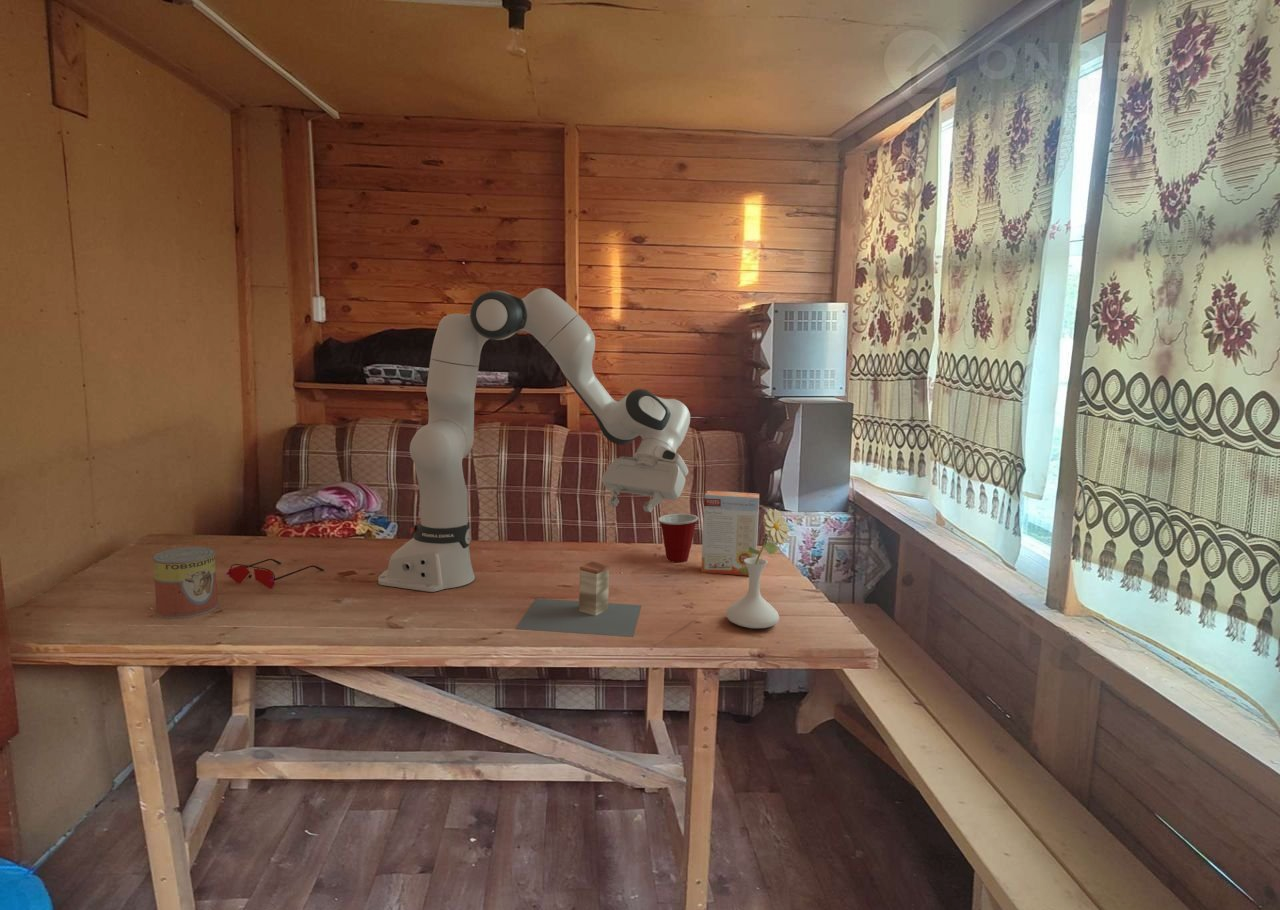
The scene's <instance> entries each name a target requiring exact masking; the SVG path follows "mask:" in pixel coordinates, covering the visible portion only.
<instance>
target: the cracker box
mask: <svg viewBox="0 0 1280 910" xmlns="http://www.w3.org/2000/svg"><path fill="white" fill-rule="evenodd" d="M703 499H704V500H703V519H702V520H703V523H702V545H701V547H702V548H701V572H702V573H709V574H721V575H734V576H746V577H747V576H748V577H749V572H748V568H747V566H746V564H745V562H744V559H747V558H757V557H758V554H754V553H751V552H749V547H751V548H753V549H755V550H758V535H759V534H758V533H759V531H758V530H759V515H760V514H759V513H760V511H759V510H760V509H759V508H760V493H756V492H755V493H754V492H753V493H752V492H739V491H738V492H736V491H722V490H721V491H720V490H706V491H705V494H704V498H703Z"/></svg>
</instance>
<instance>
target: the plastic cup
mask: <svg viewBox="0 0 1280 910" xmlns="http://www.w3.org/2000/svg"><path fill="white" fill-rule="evenodd" d="M657 519H658V522H659V523H660V527H661V531H662V532H661V533H662V538H663V544H664V549H665V558H666V560H667V559H668V560H670V561H669V562H671V561H674V562H673V563H685V562H684V561H686V562H687V561H688V559H689V557H690V556H689V555H690V551H691V547H692V543H693V537H694V531H695V529H696V524H697V521H698V520H699V517H698V516H697V515H695V514H691V513H671V514H665V515H662V516H659V517H658V518H657ZM668 560H667V561H668Z"/></svg>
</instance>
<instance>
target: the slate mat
mask: <svg viewBox="0 0 1280 910" xmlns="http://www.w3.org/2000/svg"><path fill="white" fill-rule="evenodd" d="M641 609H642V604H641V605H640V604H630V603H629V604H628V603H615V602H614V603H610V602H608V610H606V611H604V612H602V613H600V614H598V615H596V616H595V615H592V614H588V613H585V612H581V611H579V600H568V599H567V600H565V599H551V598H550V599H549V598H537V597H536V598H535V599H534V600H533V602H532V603H531V605H530V606H529V608H528V609H527V611H526V612H525V613H524V615H523V616H522V618H521V620H520V621H519V623H518V624H517V626H516V627H515V630H524V631H537V632H538V631H539V632H556V633H569V634H571V633H572V634H583V635H599V636H601V635H602V636H612V637H613V636H615V637H628V638H629V637H630V638H634V635H635V631H636V629H637V624H638V620H639V618H640V617H639V616H640V613H641V612H640V611H641Z"/></svg>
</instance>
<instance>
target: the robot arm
mask: <svg viewBox="0 0 1280 910" xmlns="http://www.w3.org/2000/svg"><path fill="white" fill-rule="evenodd" d="M469 311H470V312H469V313H451V314H450V313H449V314H446V315H445V316H443V317H442V318H441V320H439V323H438V326H437V330H436V332H435V336H434V337H433V341H432V342H433V343H432V348H431V353H430V360H429V367H428V372H427V373H428V374H427V382H426V387H425V388H426V389H425V391H426V392H425V393H426V396H427V403H428V422H427V424H425V425H422V427H420V428H419V429H418V430H417V431H416V433H415V434H414V435H413V436H412V439H411V441H410V444H409V454H410V457H411V460H412V461H413V463H414V467H415V474H416V479H417V483H418V488H419V504H420V507H419V511H420V512H419V513H420V515H419V517H420V519H419V520H418V521H417V522H416V524H414V525H413V526H412V527H411V528H410V530H411V531H410V534H412V535H413V537H412V538H411V539H409V540H408V541H407V542H405V543H404V544H403V545H402V546H400V547H398V549H396V550H395V551H394V552H393V553H392V554H391V556H390V558H389V560H388V561H389V562H388V567H387V569H386V570H384V571H383V572H382V573H380V575H379V576H378V578H377V583H378V585H379V586H384V587H385V586H387V587H393V588H394V587H395V588H399V589H406V590H407V589H408V590H415V591H421V592H428V593H429V592H430V593H433V592H438V591H442V590H446V589H452V588H458V587H462V586H466V585H468V584H470V583H472V582H473V581H475V579H476V576H475V575H476V574H475V573H474V572H475V571H474V570H473V564H472V560H471V555H470V545H471V526H470V521H469V516H468V515H469V514H468V513H469V509H468V508H469V498H468V495H469V493H468V492H469V491H468V488H467V486H466V482H465V478H464V477H465V476H464V470H463V469H464V468H463V459H464V458H466V457H467V456H468V455H469V453H470V452H471V450H472V448H473V445H474V441H475V435H474V429H475V396H476V388H477V381H478V375H479V367H480V360H481V353H482V349H483V346H484V345H485V343H486V342H487V341H488V340H495V341H496V340H497V341H500V340H501V341H502V340H506V339H509V338H511V337H513V336H514V335H516V334H517V333H518V332H519V331H523V332H527V333H529V334H530V335H532V336H533V337H534V338H535V339H536V340H537V341H538V342H539V343H540V344H541V345H542V346H543V347H544V348H545V349H546V350H547V352H548V353H549V354H550V355H551V356H552V358H553V359H554V360H555V362H556V364H558V366H559V368H560V371H561V372H562V375H563V377H564V378H565V380H566V381H567V383H568V384H569V385H570V388H572V390H574V392H575V393H576V394H577V396H578V397H579V398H580V399H581V401H582V402H583V404H585V406H586V407H587V409H588V410H589V411H590V412H591V414H592V415H593V416H594V418H595V420H596V421H597V423H598V426H599V428H600V430H601V432H602V434H603V436H604V437H605V438H606V439H607V440H608V441H609V442H611V443H613V444H615V445H621V446H623V445H629V444H631V443H632V442H633V441H634V440H636V439H637V438H638V437H641V441H640V444H639V446H638V447H637V449H636V452H635V454H634V455H633V456H627V455H620V456H619V457H616V458H614V459H613V461H612V462H611V463H610V465H609V466H608V468H607V469H606V470H605V472H604V474H603V475H602V477H601V483H602V484H603V486H604V487H605V488H606V490H608V491H610V498H609V500H608V504H609V506H611V507H618V504H619V503H620V500H619V499H618V495H620V493H626V494H633V495H640V496H646V497H652V498H651V499H650V500H649V501H645V502H644V505H643V506H642V508H643V510H644V512H646V513H652V511H653V509H654V507H657V505H660V503H661V502H662V501H663V499H666V500H672V501H675V500H678V498H680V496H681V494H682V492H683V490H684V489H685V488H684V487H685V485H686V477H687V475H688V474H689V468H688V466H687V465H686V463H685V460H684V459H683V458H682V456H681V455H680V454H679V453H678V452H677V451H678V448H680V447H681V445H682V443H683V442H684V440H685V438H686V435H687V433H688V430H689V427H690V423H691V412H690V411H689V408H688V407H687V406H686V404H685V403H683V402H681V401H680V400H679V399H678V400H677V399H675V398H663V397H659V396H657V395H655V394H654V393H653V392H651V391H649V390H647V389H644V388H637V389H634V390H632V391H631V392H629V393H628V394H626V395H625V396H623V397H622V398H621V399H620V400H619V401H617V400H615V399H614V398H613V397H612V395H610V394H609V392H608V391H607V390H606V388H605V387H604V386H603V384H602V383H601V382H600V381H599V379H598V378H597V376H596V374H595V372H594V368H593V359H594V358H593V357H594V355H595V350H596V337H595V333H594V332H593V330H592V329H591V327H590V326H589V324H588V322H587V321H585V320H584V319H583V318H582V316H581V315H579V313H578V312H577V311H576V310H575V309H574V308H573V307H572V306H571V305H570V304H569V303H567V302H566V301H565V300H564V299H563V298H562V297H560V296H559V295H558V294H556V293H555V292H553V291H552V290H551V289H550V288H549V289H548V288H545V287H540V288H536V289H534V290H532V291H531V292H529V293H528V294H527V295H526V296H524V297H523V298H521V297H518V296H515V295H513V294H511V293H509V292H507V291H504V290H498V289H497V290H489V291H486V292H483V293H481V294H480V295H478V296H477V297H476V298H475V299H474V300H473V302H472V304H471V306H470V310H469Z"/></svg>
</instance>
